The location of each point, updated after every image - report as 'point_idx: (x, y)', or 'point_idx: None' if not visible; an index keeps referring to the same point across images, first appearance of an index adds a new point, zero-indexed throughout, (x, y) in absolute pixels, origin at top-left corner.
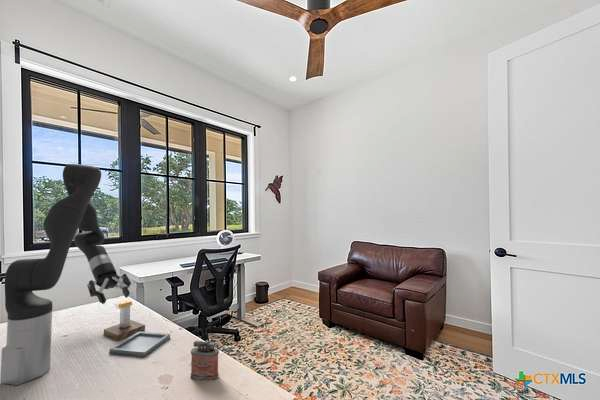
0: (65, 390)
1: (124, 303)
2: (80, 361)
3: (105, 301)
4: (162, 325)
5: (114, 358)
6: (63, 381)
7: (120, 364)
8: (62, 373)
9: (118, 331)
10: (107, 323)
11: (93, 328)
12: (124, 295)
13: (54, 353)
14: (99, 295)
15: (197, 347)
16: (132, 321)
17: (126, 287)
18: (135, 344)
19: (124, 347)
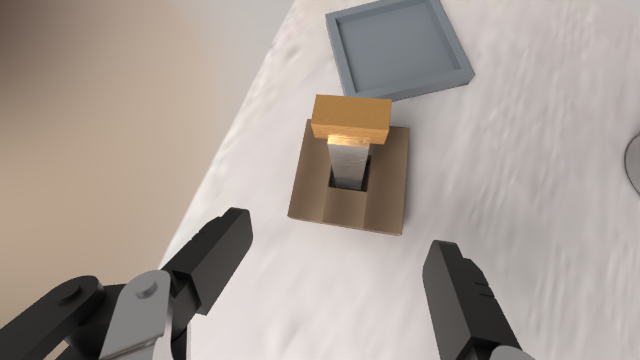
0: (618, 16)
1: (368, 99)
2: (541, 114)
3: (436, 243)
4: (263, 108)
5: (473, 51)
6: (611, 54)
7: (481, 15)
8: (602, 93)
9: (387, 155)
10: (313, 344)
11: (377, 355)
12: (239, 259)
13: (583, 256)
14: (509, 335)
15: None
16: (297, 193)
17: (161, 277)
18: (402, 58)
19: (431, 67)
